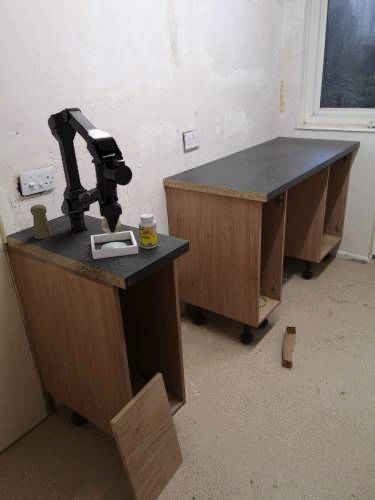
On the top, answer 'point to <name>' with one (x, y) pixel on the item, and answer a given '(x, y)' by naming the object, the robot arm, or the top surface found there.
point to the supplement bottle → (148, 231)
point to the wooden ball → (106, 226)
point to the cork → (40, 222)
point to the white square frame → (113, 245)
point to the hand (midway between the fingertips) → (111, 228)
